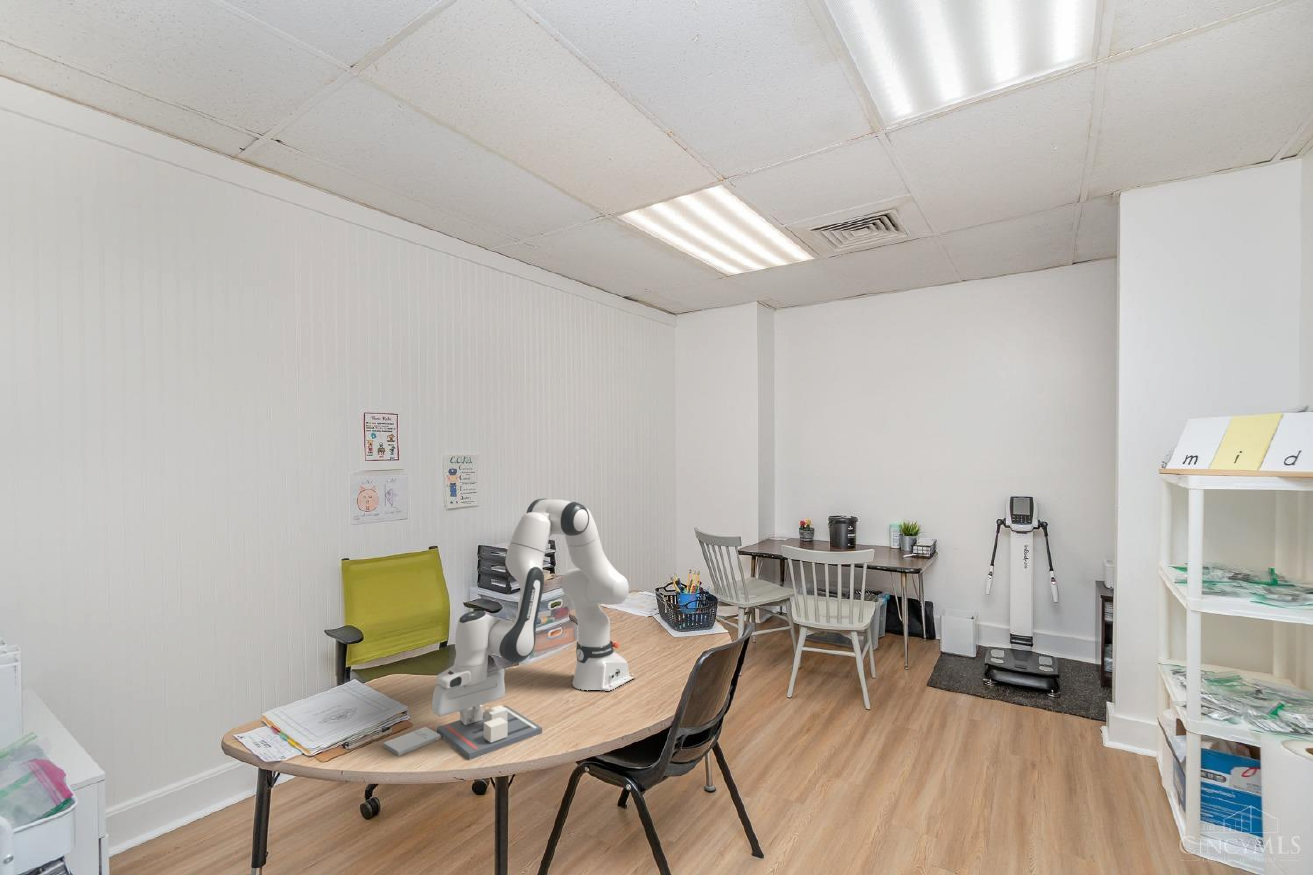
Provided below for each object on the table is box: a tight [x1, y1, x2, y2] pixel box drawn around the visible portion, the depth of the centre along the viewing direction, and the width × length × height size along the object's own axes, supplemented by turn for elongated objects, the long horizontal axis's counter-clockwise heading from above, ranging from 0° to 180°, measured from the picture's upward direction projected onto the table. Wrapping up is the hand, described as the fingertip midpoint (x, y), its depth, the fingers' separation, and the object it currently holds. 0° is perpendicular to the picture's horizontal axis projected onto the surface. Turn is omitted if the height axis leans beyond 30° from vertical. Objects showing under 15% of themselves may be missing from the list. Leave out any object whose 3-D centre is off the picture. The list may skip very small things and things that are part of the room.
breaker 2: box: [483, 717, 508, 743], centre depth 163 cm, size 5×4×4 cm
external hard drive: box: [382, 726, 442, 757], centre depth 163 cm, size 2×8×12 cm
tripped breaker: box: [484, 704, 508, 722], centre depth 171 cm, size 5×4×4 cm
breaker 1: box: [459, 704, 484, 725], centre depth 173 cm, size 5×4×4 cm
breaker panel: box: [436, 704, 543, 761], centre depth 169 cm, size 22×20×2 cm
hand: (469, 722), depth 165 cm, fingers closed
